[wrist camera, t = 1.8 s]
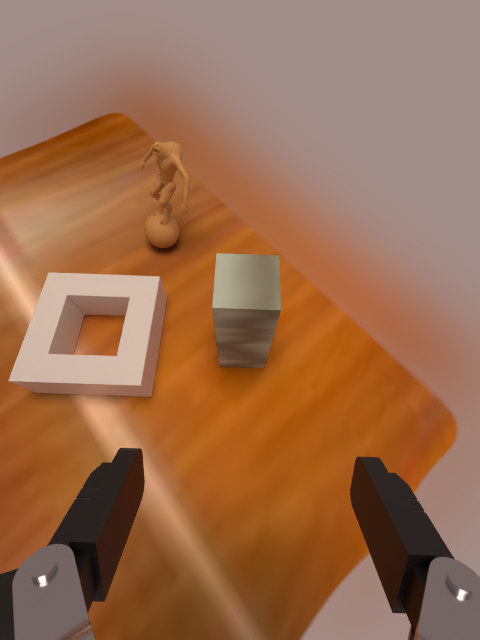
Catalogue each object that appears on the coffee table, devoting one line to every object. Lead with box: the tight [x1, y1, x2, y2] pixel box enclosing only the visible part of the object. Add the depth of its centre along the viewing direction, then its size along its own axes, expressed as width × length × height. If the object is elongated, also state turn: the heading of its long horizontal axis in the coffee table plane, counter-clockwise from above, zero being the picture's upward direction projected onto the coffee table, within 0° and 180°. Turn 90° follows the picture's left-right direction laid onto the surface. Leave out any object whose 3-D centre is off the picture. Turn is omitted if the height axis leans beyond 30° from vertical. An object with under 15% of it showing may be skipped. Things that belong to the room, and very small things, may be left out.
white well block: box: [9, 273, 167, 397], centre depth 30 cm, size 11×11×4 cm
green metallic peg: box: [212, 253, 281, 368], centre depth 27 cm, size 4×4×12 cm
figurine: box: [141, 141, 190, 248], centre depth 33 cm, size 8×6×12 cm
